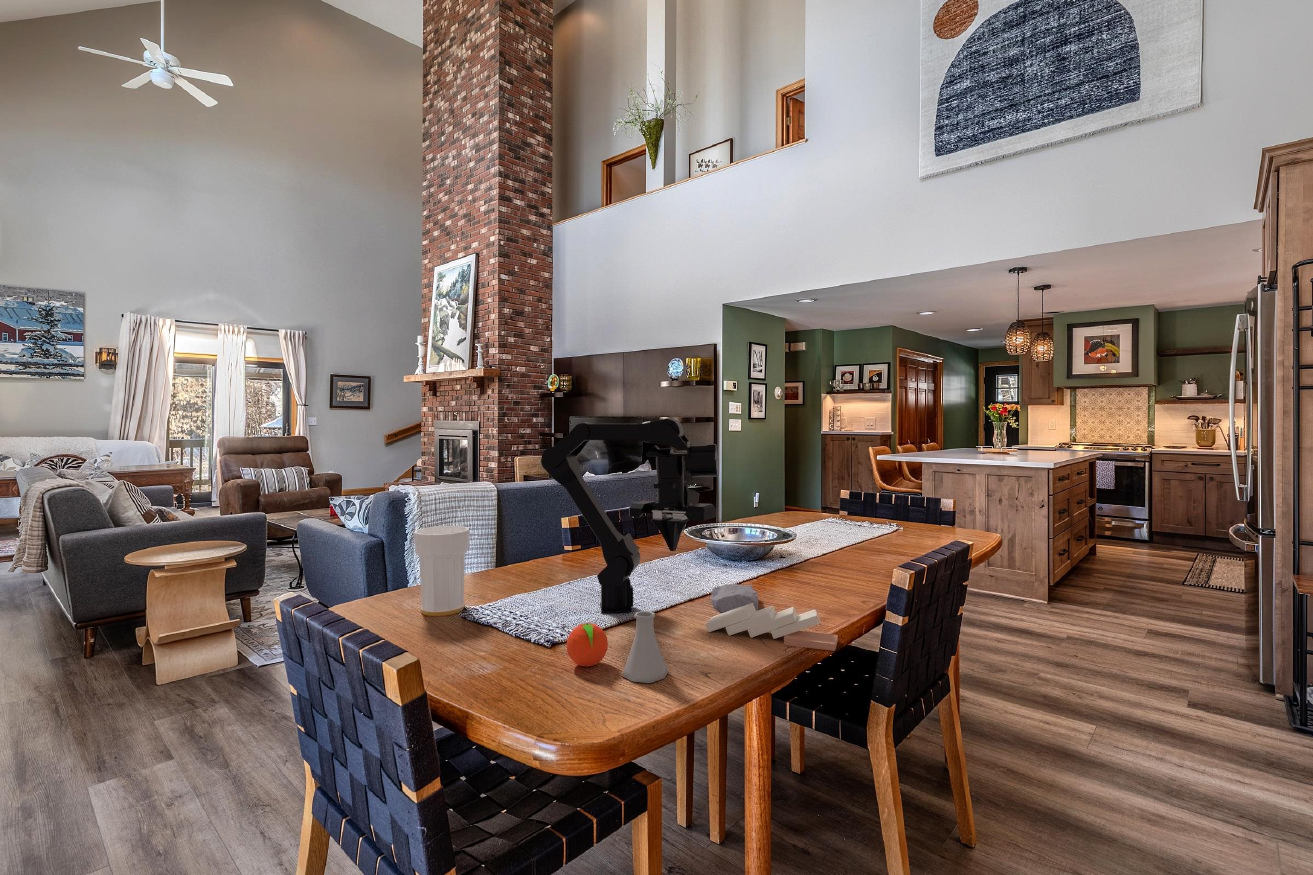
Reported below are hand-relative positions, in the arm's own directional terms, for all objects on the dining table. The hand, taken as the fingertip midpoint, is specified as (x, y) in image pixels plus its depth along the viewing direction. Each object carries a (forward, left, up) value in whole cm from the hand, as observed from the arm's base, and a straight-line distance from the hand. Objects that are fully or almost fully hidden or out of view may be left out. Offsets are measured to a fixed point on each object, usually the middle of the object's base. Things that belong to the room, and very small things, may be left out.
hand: (673, 550), depth 135 cm
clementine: (-19, -27, -13) cm, 35 cm away
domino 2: (+9, -14, -12) cm, 20 cm away
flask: (-10, -32, -13) cm, 36 cm away
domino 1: (+6, -11, -12) cm, 18 cm away
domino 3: (+12, -16, -12) cm, 24 cm away
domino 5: (+18, -20, -13) cm, 30 cm away
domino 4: (+16, -17, -12) cm, 27 cm away
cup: (-49, +9, -13) cm, 52 cm away
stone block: (+14, +3, -14) cm, 20 cm away
